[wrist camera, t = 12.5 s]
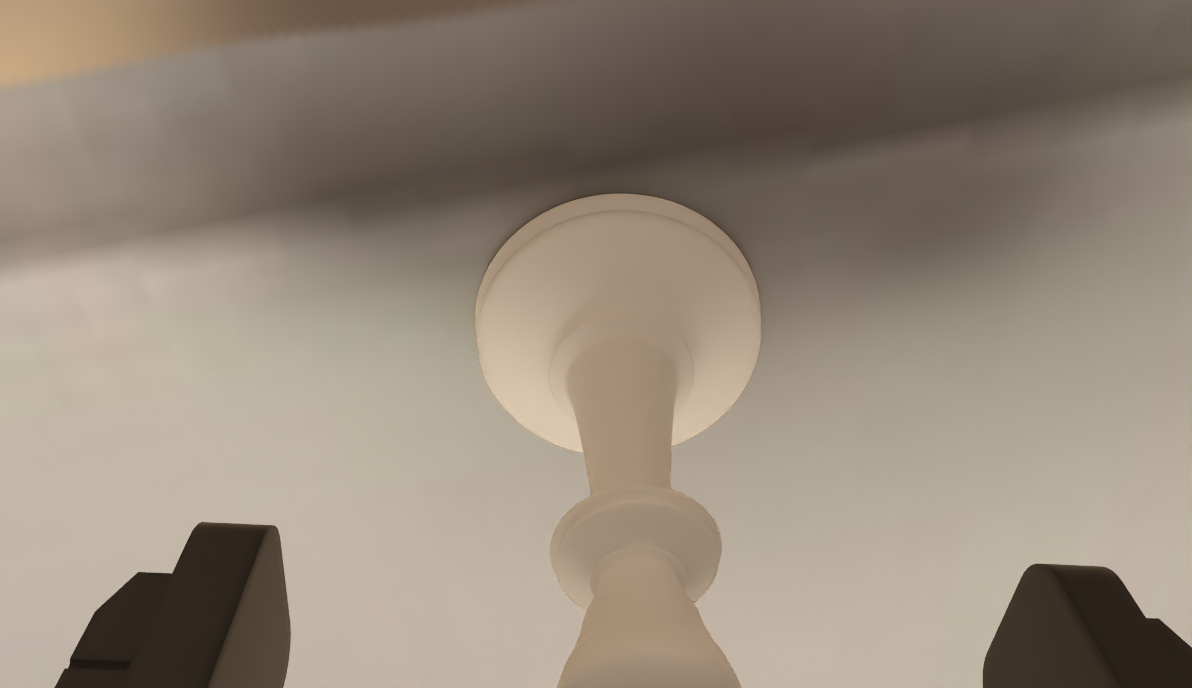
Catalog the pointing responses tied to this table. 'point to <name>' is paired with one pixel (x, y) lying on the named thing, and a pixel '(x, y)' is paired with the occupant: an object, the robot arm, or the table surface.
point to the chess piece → (625, 413)
